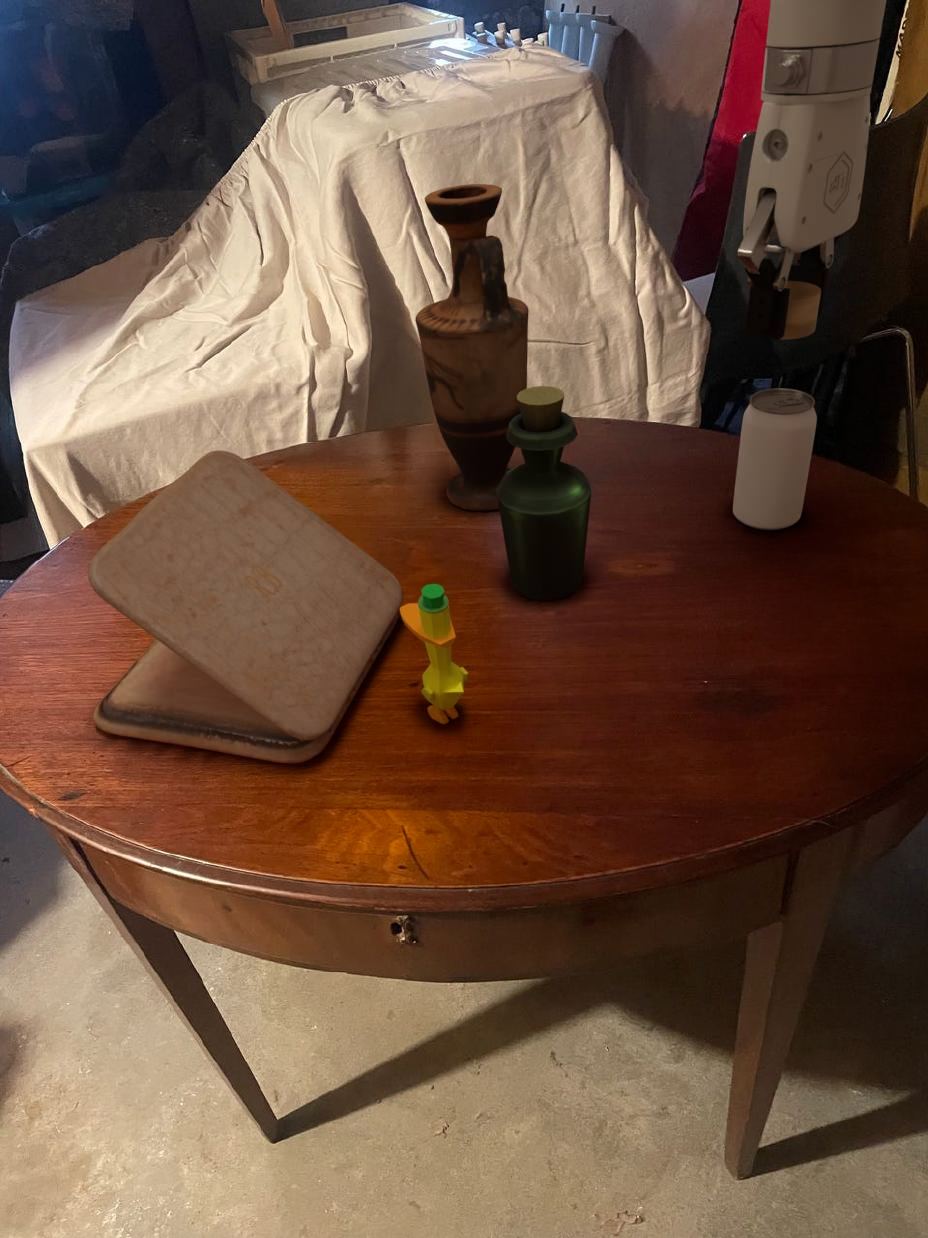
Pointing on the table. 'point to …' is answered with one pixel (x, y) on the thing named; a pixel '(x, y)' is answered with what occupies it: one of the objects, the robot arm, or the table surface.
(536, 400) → the potion bottle
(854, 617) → the table surface
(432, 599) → the toy figure
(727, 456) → the table surface
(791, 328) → the cylinder
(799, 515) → the can
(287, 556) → the case
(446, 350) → the vase
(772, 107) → the robot arm
